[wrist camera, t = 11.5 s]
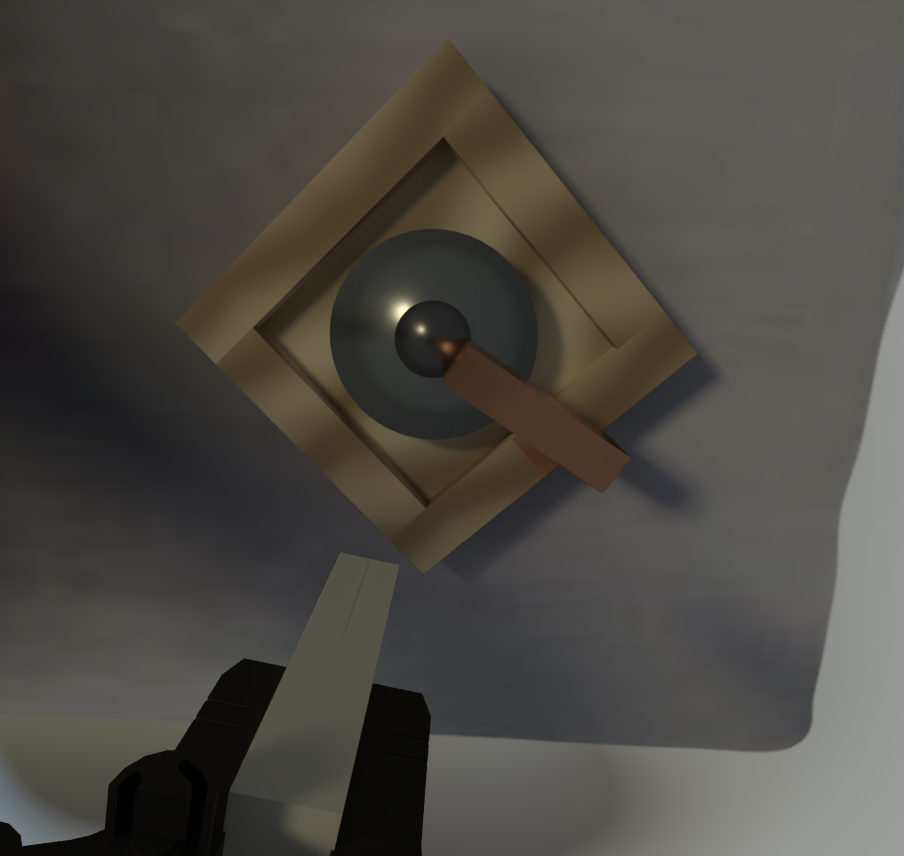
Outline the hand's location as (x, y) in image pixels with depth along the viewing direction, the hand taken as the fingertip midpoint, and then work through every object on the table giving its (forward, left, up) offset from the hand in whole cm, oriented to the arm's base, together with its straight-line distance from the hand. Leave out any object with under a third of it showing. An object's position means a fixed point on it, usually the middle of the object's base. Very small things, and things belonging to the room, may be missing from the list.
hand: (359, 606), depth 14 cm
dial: (-1, +5, -18) cm, 19 cm away
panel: (-3, +4, -20) cm, 21 cm away
